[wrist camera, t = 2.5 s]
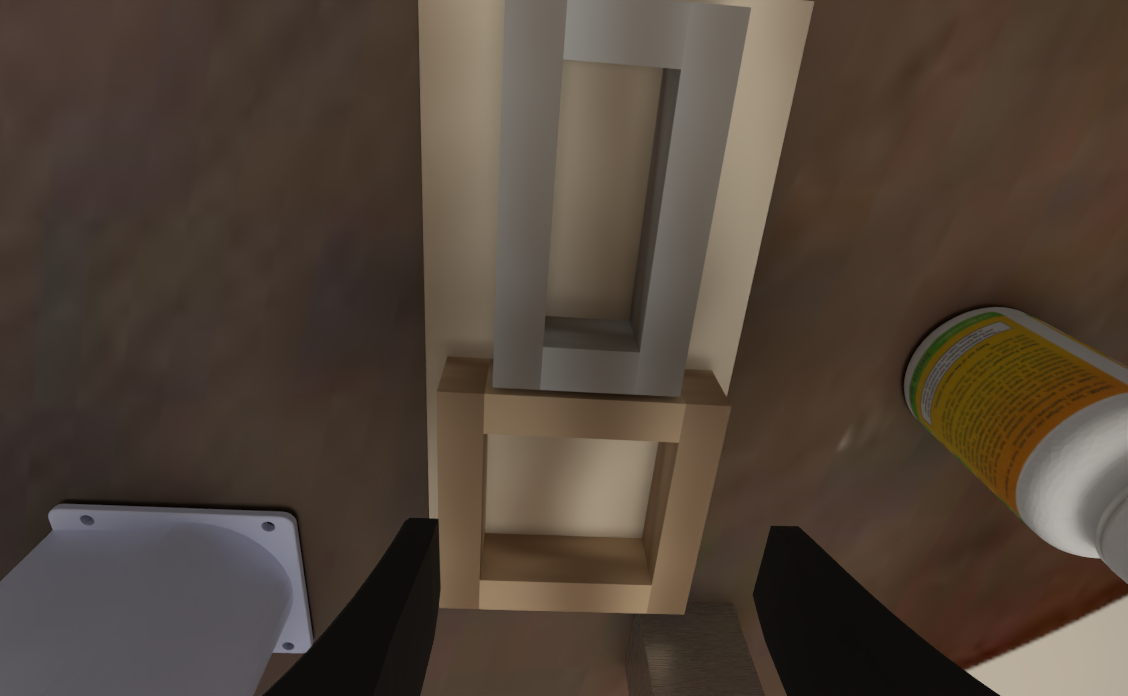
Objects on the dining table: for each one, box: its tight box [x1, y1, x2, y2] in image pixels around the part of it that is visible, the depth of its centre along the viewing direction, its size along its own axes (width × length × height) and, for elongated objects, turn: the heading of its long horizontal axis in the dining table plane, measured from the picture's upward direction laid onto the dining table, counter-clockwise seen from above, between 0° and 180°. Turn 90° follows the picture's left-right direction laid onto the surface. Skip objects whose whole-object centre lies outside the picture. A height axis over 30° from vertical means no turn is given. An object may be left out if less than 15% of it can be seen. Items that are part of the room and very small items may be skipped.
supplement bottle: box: [904, 307, 1128, 584], centre depth 19 cm, size 5×5×10 cm
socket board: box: [418, 0, 814, 615], centre depth 21 cm, size 11×22×3 cm, turn 175°
